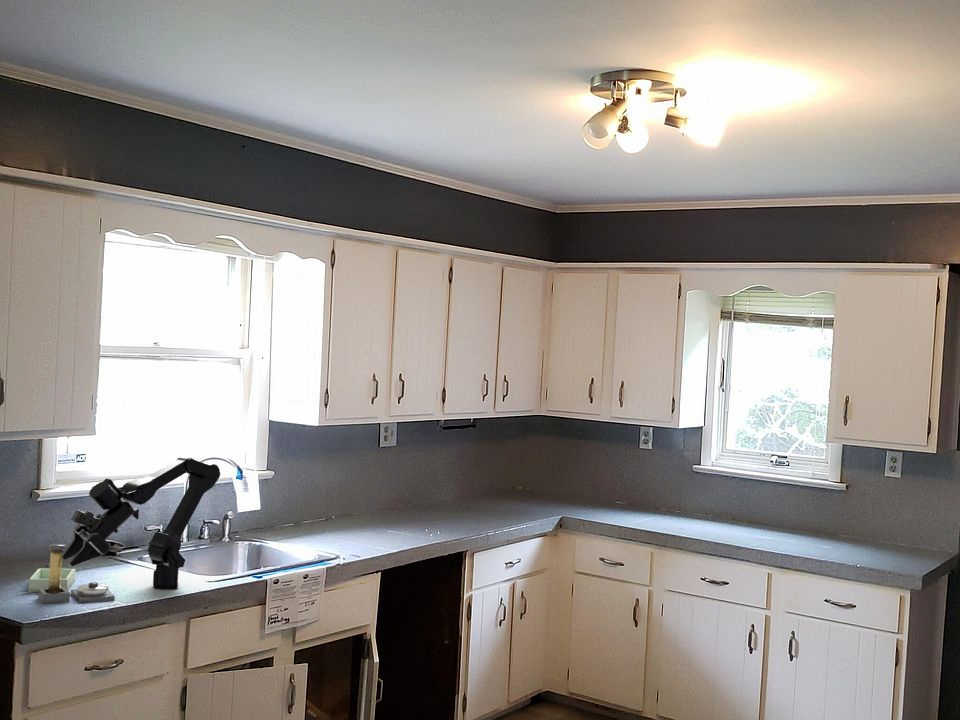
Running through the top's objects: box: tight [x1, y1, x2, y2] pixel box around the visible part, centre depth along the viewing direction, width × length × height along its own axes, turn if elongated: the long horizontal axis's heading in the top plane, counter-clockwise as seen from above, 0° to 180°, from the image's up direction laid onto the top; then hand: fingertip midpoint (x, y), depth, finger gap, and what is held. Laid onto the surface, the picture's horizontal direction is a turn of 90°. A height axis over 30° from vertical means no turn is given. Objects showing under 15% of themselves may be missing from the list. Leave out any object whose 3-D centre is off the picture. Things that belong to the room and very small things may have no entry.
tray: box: [27, 568, 76, 593], centre depth 281 cm, size 10×14×4 cm
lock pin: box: [48, 543, 66, 593], centre depth 266 cm, size 4×4×15 cm
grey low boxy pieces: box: [37, 581, 116, 605], centre depth 269 cm, size 18×11×4 cm, turn 124°
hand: (67, 561), depth 268 cm, fingers open, 9 cm apart
